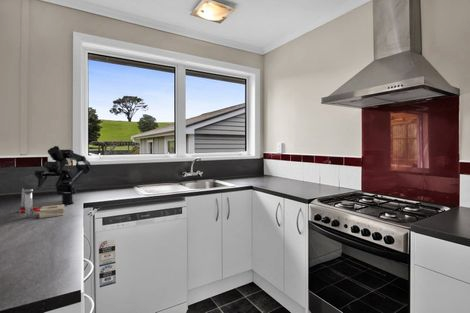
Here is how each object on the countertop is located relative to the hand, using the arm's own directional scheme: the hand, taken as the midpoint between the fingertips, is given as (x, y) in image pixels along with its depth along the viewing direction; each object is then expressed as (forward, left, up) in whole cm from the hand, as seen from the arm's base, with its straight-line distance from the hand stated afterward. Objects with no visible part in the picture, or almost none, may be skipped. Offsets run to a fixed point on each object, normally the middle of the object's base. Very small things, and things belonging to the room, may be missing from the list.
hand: (47, 186), depth 142 cm
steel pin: (+12, -7, -14) cm, 20 cm away
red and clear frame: (-6, -8, -14) cm, 17 cm away
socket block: (+11, +3, -14) cm, 18 cm away
